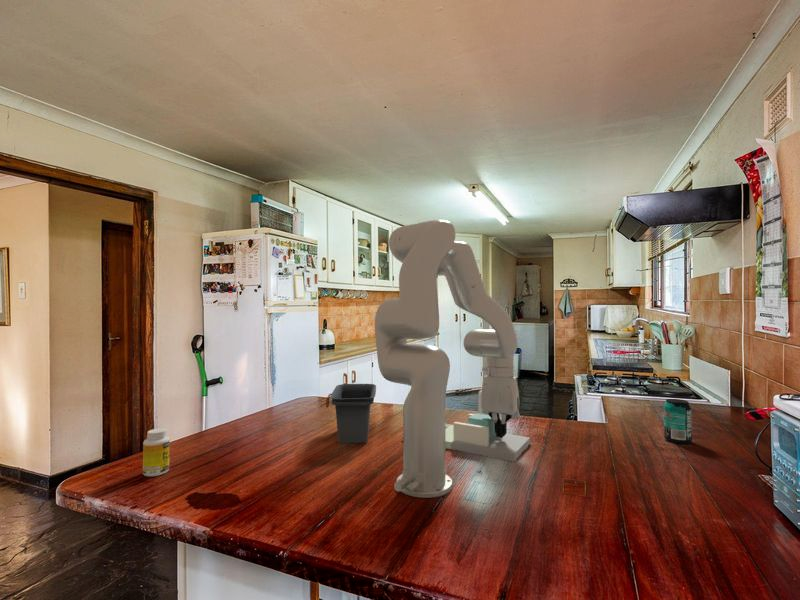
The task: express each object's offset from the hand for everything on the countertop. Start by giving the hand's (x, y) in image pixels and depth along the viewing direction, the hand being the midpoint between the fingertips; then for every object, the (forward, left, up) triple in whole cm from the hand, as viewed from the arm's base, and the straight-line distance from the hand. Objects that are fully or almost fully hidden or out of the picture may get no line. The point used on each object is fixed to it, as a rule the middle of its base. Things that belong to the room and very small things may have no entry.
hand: (500, 436), depth 117 cm
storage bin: (-13, +44, -4) cm, 46 cm away
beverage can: (+35, -43, -4) cm, 56 cm away
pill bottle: (+19, +10, -4) cm, 21 cm away
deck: (0, +11, -3) cm, 11 cm away
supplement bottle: (-61, +66, -4) cm, 90 cm away
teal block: (0, +6, -1) cm, 6 cm away
